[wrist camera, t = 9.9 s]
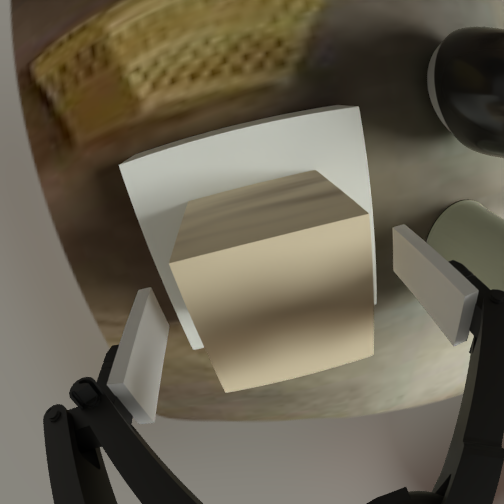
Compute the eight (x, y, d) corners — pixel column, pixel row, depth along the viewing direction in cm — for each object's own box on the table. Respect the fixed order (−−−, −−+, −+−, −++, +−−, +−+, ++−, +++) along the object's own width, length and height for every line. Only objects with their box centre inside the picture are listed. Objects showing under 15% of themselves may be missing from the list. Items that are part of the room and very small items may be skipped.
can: (413, 285, 29) (479, 367, 18) (436, 194, 25) (531, 255, 14) (474, 281, 30) (538, 346, 19) (498, 204, 26) (580, 256, 15)
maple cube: (188, 201, 19) (168, 263, 12) (315, 169, 19) (369, 213, 12) (223, 305, 23) (225, 392, 16) (331, 278, 23) (373, 355, 16)
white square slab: (135, 154, 21) (118, 165, 18) (337, 104, 21) (358, 106, 18) (195, 319, 28) (193, 349, 25) (359, 278, 28) (376, 303, 24)
